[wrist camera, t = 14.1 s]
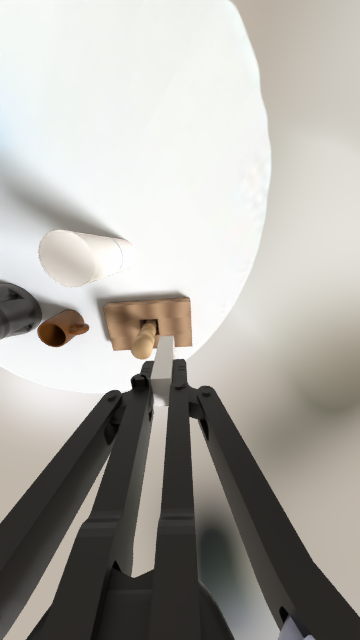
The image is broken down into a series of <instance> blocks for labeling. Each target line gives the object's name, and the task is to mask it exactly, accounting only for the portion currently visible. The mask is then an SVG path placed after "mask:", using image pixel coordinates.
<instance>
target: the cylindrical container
mask: <svg viewBox="0 0 360 640" xmlns="http://www.w3.org/2000/svg"><path fill="white" fill-rule="evenodd" d="M38 253H39V259H40V262H41V265H42V267H43V269H44V270H45V272H46V273H47V274H48V275H49V276H50V277H51V278H52V279H53V280H54V281H56V282H57V283H59V284H61V285H64V286H67V287H80V286H83V285H85V284H88V283H91V282H93V281H96V280H98V279H101V278H104V277H106V276H109V275H111V274H114V273H116V272H119V271H122V270H124V269H127V268H129V267H131V266H133V265H134V264H135V262H136V259H137V252H136V249H135V247H134V246H133V244H132V243H130V242H129V241H127V240H123V239H117V238H111V237H104V236H98V235H92V234H86V233H79V232H73V231H67V230H54V231H51V232H49V233H47V234H46V235H45V236H44V237H43V238H42V240H41V241H40V244H39V251H38Z"/></svg>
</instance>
